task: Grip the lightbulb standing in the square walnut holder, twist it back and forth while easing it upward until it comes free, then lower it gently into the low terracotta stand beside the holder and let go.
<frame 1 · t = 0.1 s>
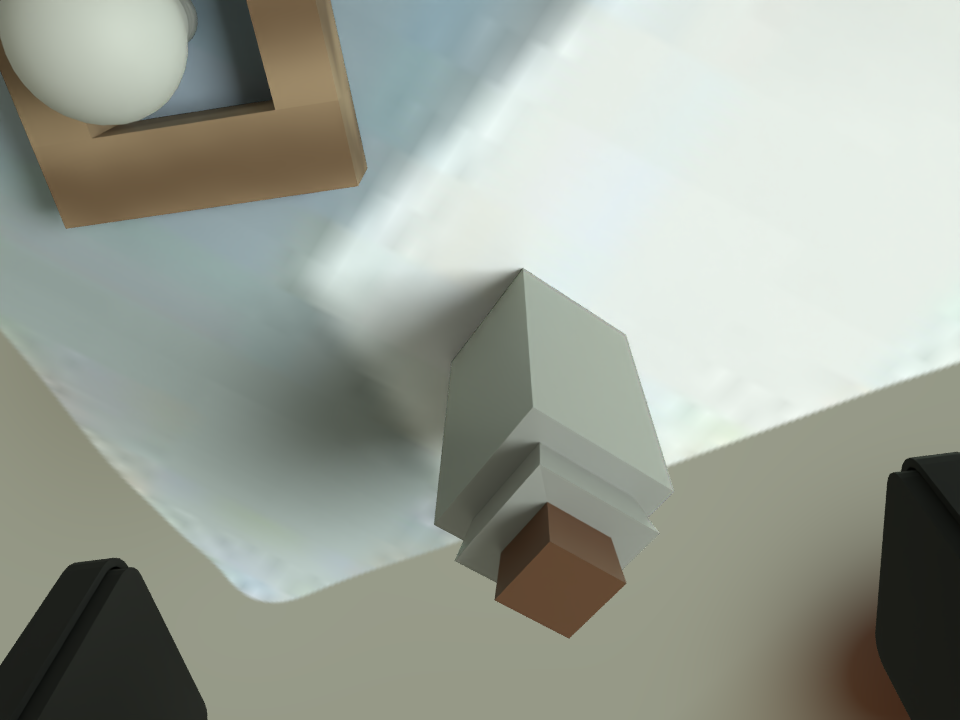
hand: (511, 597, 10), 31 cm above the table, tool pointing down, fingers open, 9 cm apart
lightbulb: (176, 14, 36), resting in walnut holder
walnut holder: (175, 14, 36), on the table
perfume bottle: (537, 347, 44), on the table
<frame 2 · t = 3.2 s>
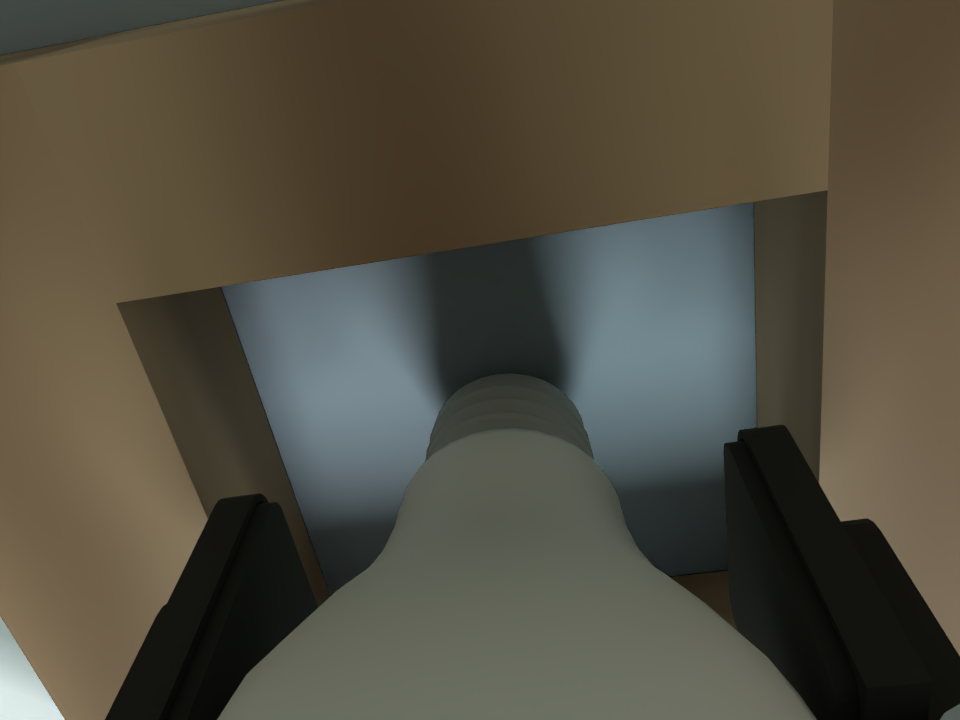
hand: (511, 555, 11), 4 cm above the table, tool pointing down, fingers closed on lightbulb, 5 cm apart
lightbulb: (508, 407, 14), resting in walnut holder, touching gripper
walnut holder: (509, 413, 14), on the table
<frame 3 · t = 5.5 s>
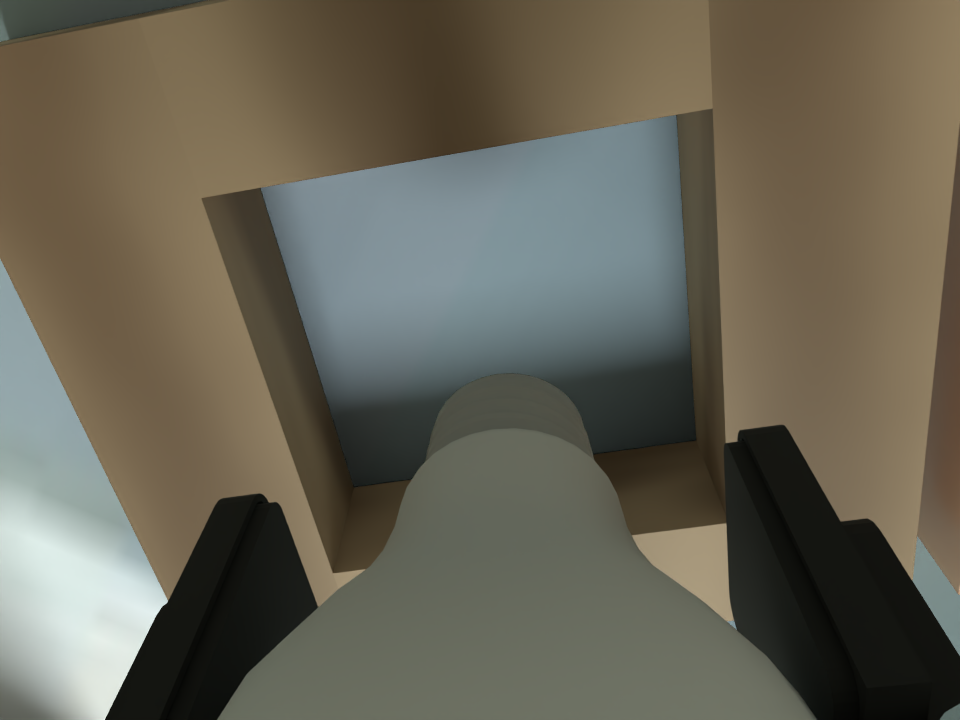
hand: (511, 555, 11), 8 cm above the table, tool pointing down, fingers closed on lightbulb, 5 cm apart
lightbulb: (508, 407, 14), point 4 cm above the table, touching gripper
walnut holder: (492, 309, 18), on the table
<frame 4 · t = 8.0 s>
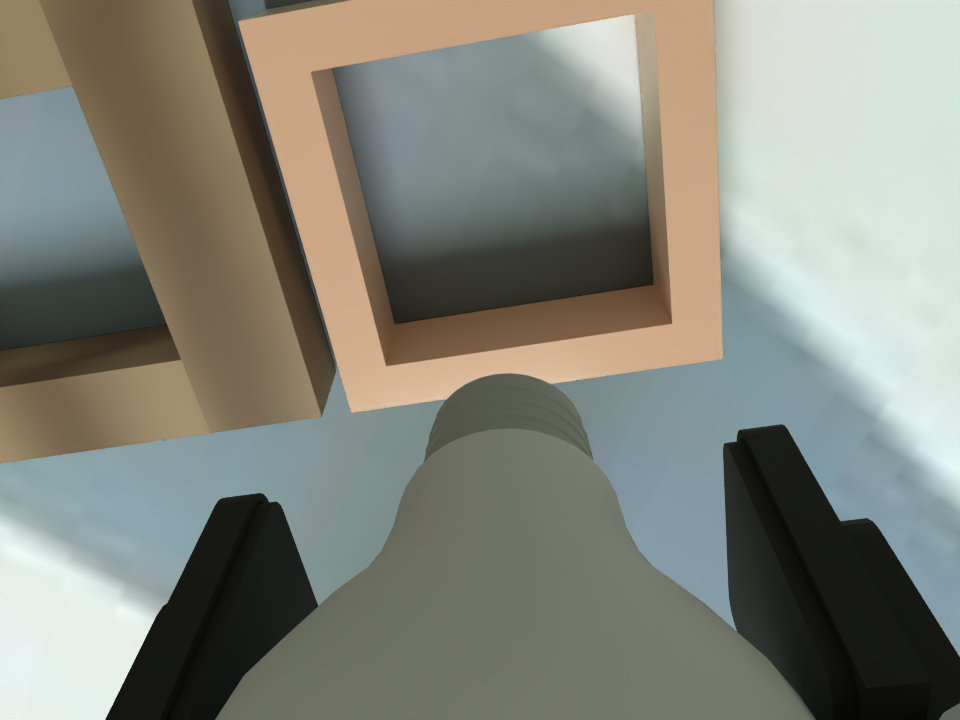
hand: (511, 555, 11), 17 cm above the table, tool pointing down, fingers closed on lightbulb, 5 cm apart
terracotta stand: (502, 177, 26), on the table
lightbulb: (507, 407, 14), point 13 cm above the table, touching gripper
walnut holder: (43, 223, 26), on the table
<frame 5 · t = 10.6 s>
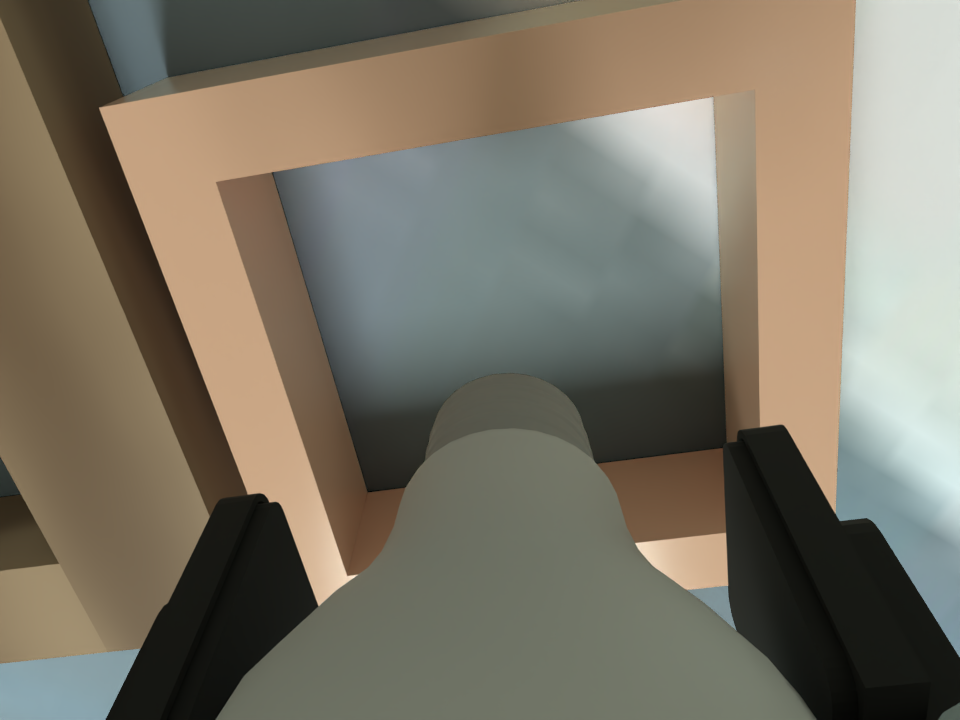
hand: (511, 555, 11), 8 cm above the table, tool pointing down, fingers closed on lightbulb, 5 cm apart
terracotta stand: (515, 307, 18), on the table
lightbulb: (507, 407, 14), point 4 cm above the table, touching gripper
when the fingers open (4 cm above the table, at t = 12.9 s): lightbulb stays where it is, resting in terracotta stand.
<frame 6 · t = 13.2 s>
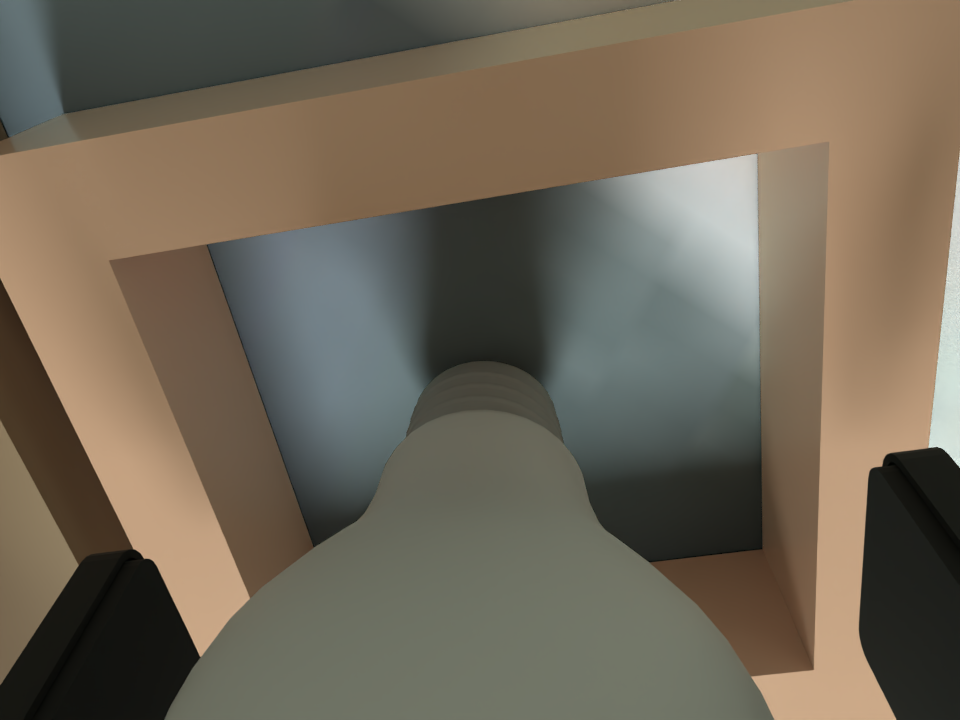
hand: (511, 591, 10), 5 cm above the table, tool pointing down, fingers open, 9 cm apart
terracotta stand: (507, 390, 15), on the table
lightbulb: (486, 394, 15), resting in terracotta stand
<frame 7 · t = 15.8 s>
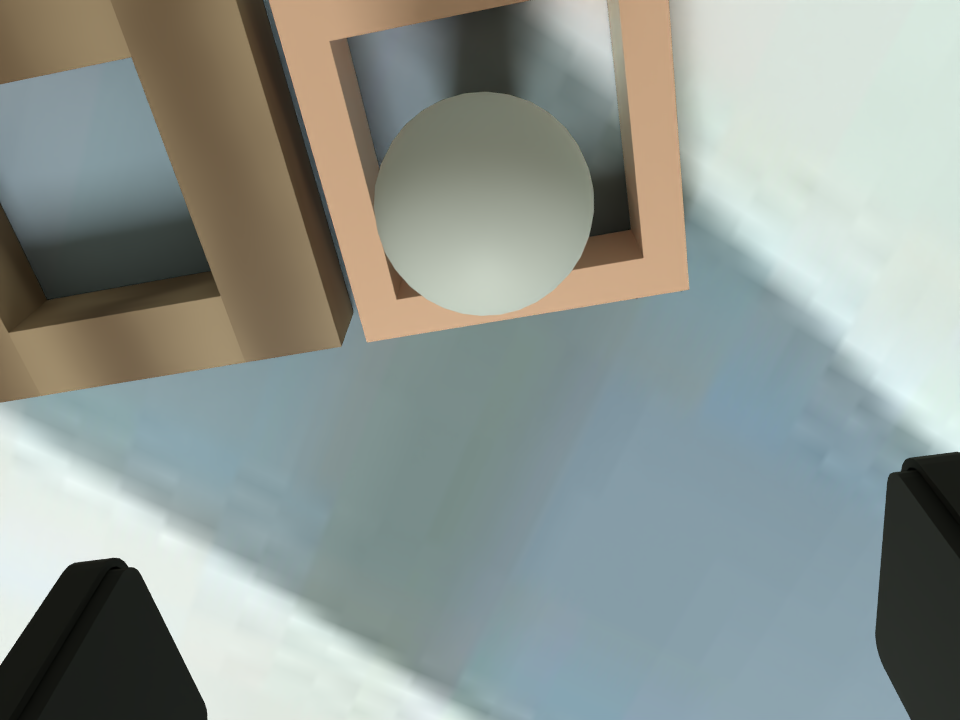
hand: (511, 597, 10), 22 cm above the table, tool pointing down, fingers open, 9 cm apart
terracotta stand: (495, 135, 29), on the table
lightbulb: (485, 139, 30), resting in terracotta stand
walnut holder: (101, 182, 31), on the table
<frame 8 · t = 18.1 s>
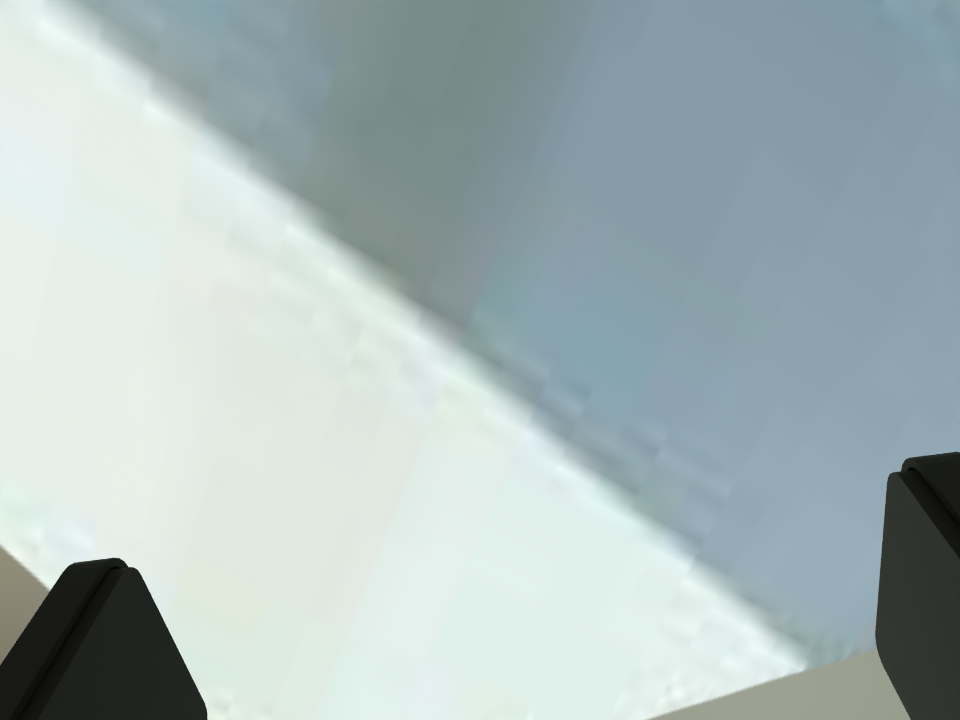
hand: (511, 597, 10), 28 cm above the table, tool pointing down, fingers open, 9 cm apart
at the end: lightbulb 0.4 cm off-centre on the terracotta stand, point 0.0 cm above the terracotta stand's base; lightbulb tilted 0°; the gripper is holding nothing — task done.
